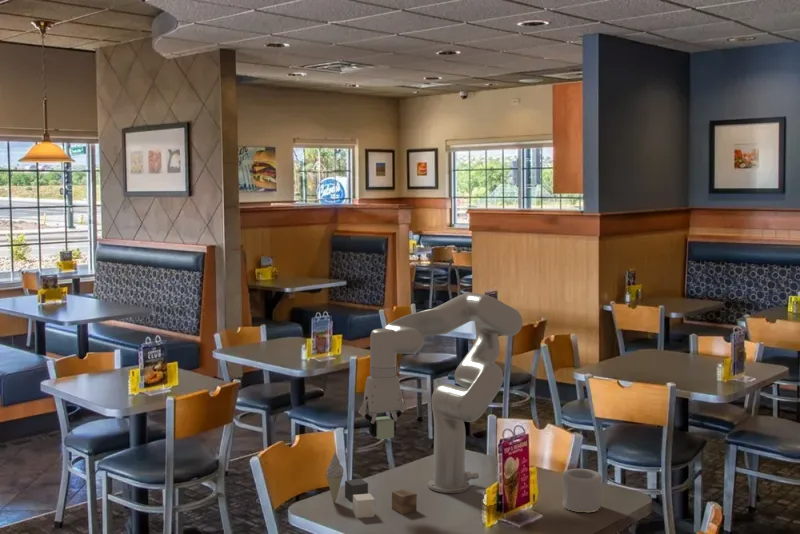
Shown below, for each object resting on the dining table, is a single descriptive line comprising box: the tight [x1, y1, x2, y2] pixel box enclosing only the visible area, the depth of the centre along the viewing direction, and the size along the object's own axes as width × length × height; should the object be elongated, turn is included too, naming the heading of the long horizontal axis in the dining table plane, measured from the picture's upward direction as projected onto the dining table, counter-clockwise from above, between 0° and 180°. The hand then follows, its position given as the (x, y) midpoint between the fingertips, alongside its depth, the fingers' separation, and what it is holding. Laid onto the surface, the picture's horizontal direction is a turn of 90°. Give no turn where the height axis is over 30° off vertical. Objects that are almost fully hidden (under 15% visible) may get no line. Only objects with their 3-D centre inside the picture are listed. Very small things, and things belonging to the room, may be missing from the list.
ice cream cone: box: [325, 451, 344, 504], centre depth 256 cm, size 5×5×15 cm
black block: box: [344, 478, 369, 503], centre depth 261 cm, size 5×5×5 cm
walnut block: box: [391, 488, 418, 515], centre depth 252 cm, size 5×5×5 cm
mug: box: [561, 468, 602, 512], centre depth 257 cm, size 14×11×10 cm
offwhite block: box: [352, 493, 376, 519], centre depth 248 cm, size 5×5×5 cm
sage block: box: [374, 415, 395, 440], centre depth 255 cm, size 5×5×5 cm
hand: (382, 434), depth 255 cm, fingers closed on sage block, 5 cm apart
